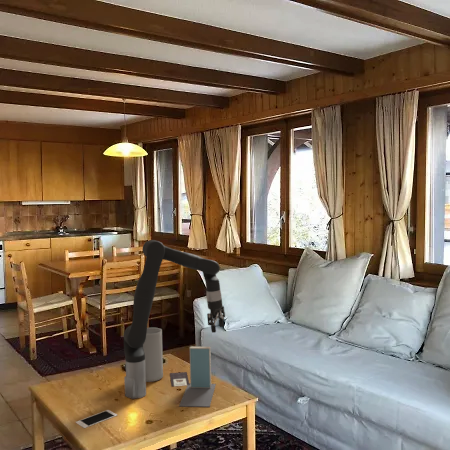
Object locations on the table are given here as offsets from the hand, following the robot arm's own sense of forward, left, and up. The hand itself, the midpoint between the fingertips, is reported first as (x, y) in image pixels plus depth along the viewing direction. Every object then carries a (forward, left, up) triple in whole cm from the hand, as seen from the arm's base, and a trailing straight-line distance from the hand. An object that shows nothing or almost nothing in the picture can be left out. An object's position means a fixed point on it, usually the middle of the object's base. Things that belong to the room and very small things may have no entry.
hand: (217, 329), depth 254 cm
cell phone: (-66, +13, -27) cm, 72 cm away
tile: (-14, 0, -26) cm, 29 cm away
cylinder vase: (-20, +30, -26) cm, 44 cm away
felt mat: (-21, -5, -26) cm, 34 cm away
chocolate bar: (-13, +16, -27) cm, 34 cm away
